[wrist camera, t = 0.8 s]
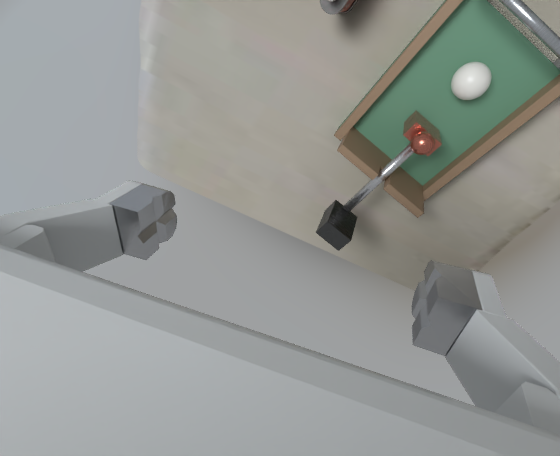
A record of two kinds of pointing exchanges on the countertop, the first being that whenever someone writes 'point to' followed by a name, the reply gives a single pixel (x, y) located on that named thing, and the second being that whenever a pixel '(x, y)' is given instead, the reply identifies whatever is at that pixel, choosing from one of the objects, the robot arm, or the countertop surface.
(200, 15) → the countertop surface
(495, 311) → the robot arm
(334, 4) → the lighter
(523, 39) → the pitch
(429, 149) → the rod
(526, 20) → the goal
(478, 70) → the ball
